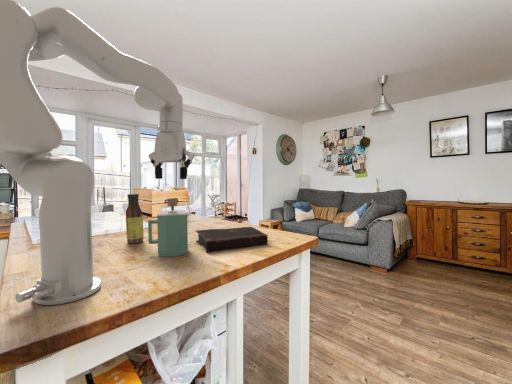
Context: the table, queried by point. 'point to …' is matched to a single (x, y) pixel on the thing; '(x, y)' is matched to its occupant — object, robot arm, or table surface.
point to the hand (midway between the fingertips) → (170, 178)
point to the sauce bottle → (134, 220)
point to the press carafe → (170, 233)
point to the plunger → (172, 203)
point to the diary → (230, 238)
